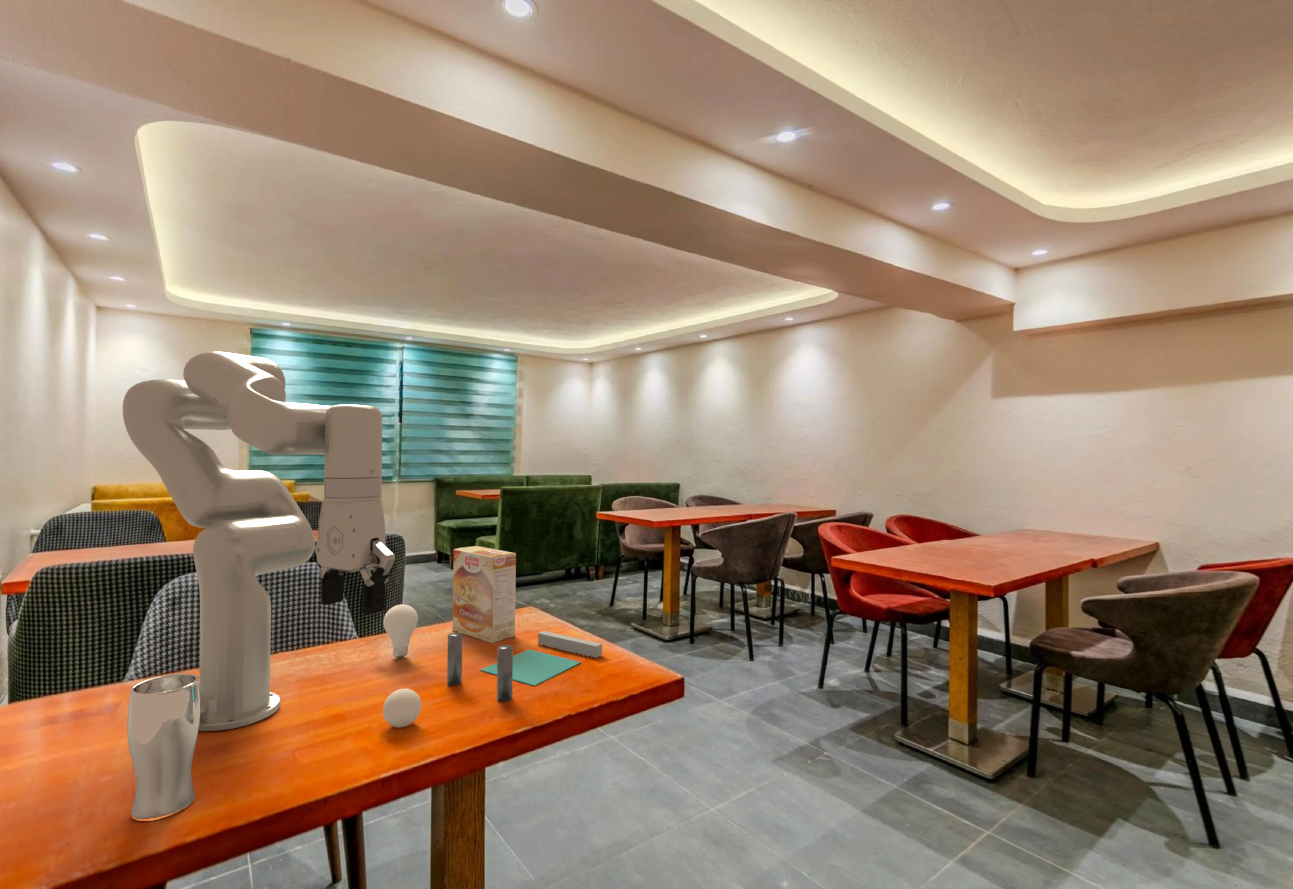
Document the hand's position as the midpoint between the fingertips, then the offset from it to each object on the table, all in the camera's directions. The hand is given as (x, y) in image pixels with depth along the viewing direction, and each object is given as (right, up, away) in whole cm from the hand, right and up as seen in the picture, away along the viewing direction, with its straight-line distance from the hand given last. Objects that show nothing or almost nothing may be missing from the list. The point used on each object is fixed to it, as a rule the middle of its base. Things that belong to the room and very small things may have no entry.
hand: (352, 607), depth 87 cm
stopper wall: (+26, -21, +43) cm, 55 cm away
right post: (+18, -21, +18) cm, 33 cm away
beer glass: (-16, -21, -14) cm, 30 cm away
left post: (+7, -21, +24) cm, 33 cm away
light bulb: (-8, -21, +37) cm, 43 cm away
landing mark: (+20, -21, +33) cm, 44 cm away
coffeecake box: (+4, -21, +54) cm, 58 cm away
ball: (+4, -18, +7) cm, 20 cm away
